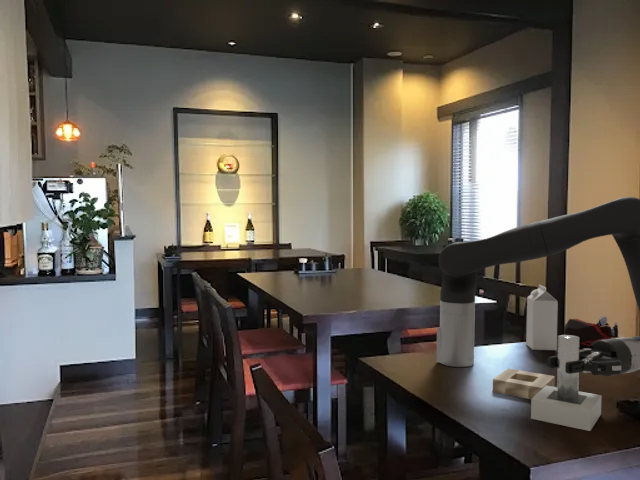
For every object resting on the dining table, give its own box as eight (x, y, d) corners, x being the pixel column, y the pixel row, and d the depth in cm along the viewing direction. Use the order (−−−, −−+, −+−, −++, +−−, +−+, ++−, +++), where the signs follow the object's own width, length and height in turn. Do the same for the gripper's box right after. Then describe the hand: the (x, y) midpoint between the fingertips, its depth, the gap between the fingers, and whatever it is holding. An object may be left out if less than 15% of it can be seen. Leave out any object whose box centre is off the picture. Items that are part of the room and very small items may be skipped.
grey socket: (530, 418, 115) (531, 399, 114) (545, 403, 124) (545, 385, 123) (590, 431, 108) (590, 410, 108) (600, 414, 117) (601, 395, 117)
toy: (616, 307, 172) (562, 308, 177) (620, 332, 165) (563, 331, 171) (615, 332, 179) (564, 332, 185) (619, 357, 172) (565, 356, 178)
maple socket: (492, 391, 131) (492, 379, 131) (507, 380, 140) (508, 368, 140) (541, 401, 125) (542, 388, 125) (554, 388, 134) (554, 376, 134)
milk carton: (549, 345, 177) (551, 284, 176) (556, 350, 170) (558, 287, 169) (526, 344, 178) (527, 284, 177) (532, 350, 171) (533, 287, 170)
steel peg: (554, 405, 115) (555, 337, 115) (559, 400, 119) (560, 334, 118) (575, 409, 113) (577, 340, 112) (580, 404, 116) (581, 336, 115)
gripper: (589, 332, 127) (531, 339, 120) (649, 345, 114) (587, 355, 107) (589, 365, 128) (531, 374, 121) (648, 382, 115) (587, 394, 108)
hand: (558, 365), depth 114 cm, fingers closed on steel peg, 4 cm apart
